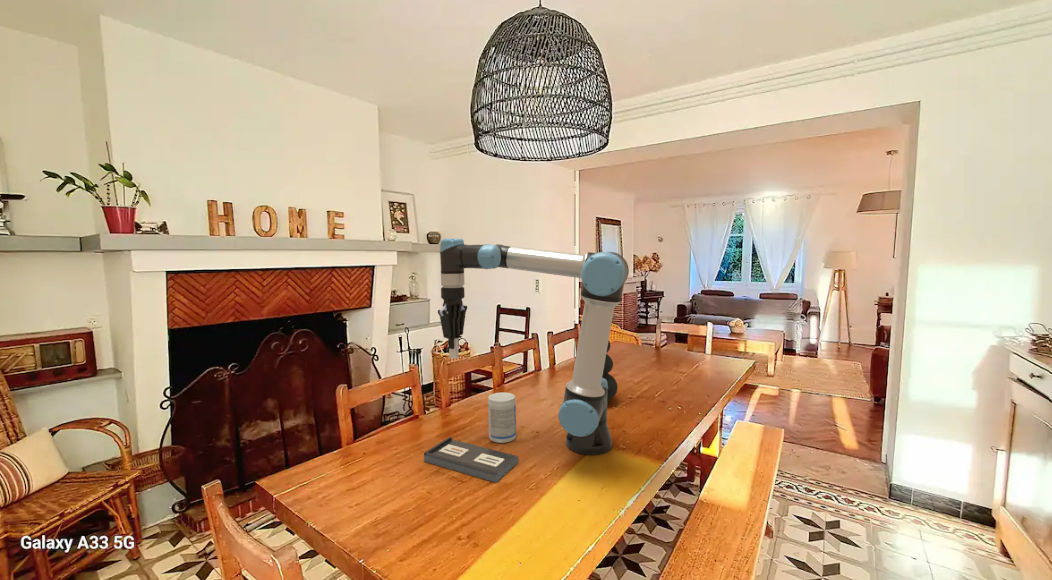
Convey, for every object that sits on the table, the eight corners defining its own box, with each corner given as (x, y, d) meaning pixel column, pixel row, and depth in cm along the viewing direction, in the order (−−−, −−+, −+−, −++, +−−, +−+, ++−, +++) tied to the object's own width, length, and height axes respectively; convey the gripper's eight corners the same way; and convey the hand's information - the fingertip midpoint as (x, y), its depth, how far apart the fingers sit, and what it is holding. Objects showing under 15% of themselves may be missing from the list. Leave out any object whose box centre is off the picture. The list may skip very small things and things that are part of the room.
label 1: (469, 450, 137) (469, 449, 137) (459, 457, 132) (459, 456, 132) (448, 445, 141) (448, 444, 141) (438, 451, 136) (438, 450, 136)
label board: (518, 462, 133) (518, 453, 133) (496, 482, 122) (496, 473, 122) (450, 444, 145) (450, 436, 145) (424, 461, 134) (423, 452, 134)
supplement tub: (521, 439, 149) (521, 397, 148) (497, 446, 144) (497, 403, 142) (506, 429, 157) (506, 390, 156) (483, 436, 152) (482, 395, 150)
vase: (623, 399, 188) (625, 319, 184) (607, 413, 172) (609, 326, 169) (584, 391, 198) (585, 315, 194) (565, 404, 182) (566, 321, 178)
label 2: (504, 460, 131) (504, 458, 131) (496, 467, 126) (496, 466, 126) (482, 454, 135) (482, 452, 135) (473, 461, 130) (473, 459, 130)
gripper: (455, 284, 148) (456, 352, 151) (430, 287, 137) (431, 361, 139) (473, 285, 145) (474, 354, 147) (449, 288, 133) (450, 364, 136)
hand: (453, 357), depth 143 cm, fingers closed
